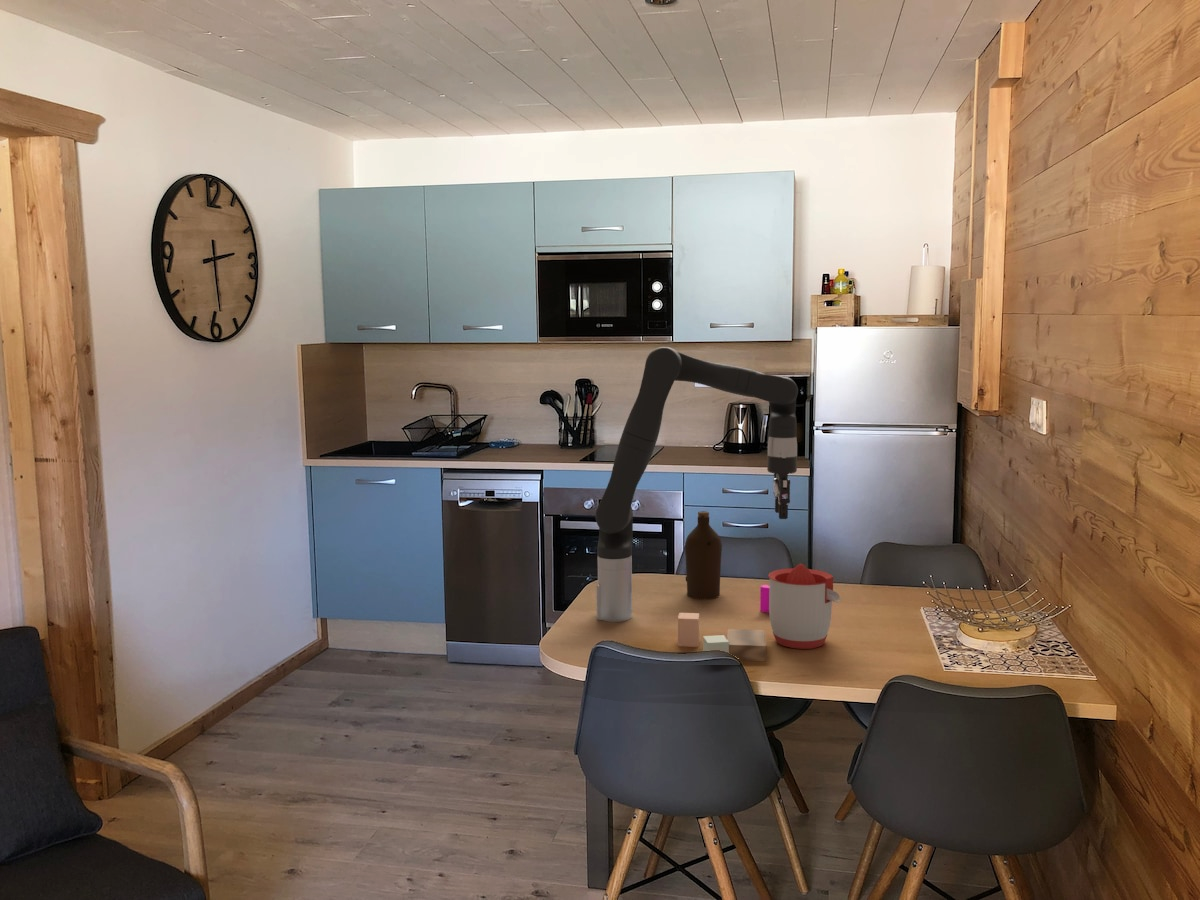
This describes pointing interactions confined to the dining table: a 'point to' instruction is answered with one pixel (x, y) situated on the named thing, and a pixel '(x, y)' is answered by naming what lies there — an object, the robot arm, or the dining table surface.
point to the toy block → (764, 598)
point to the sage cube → (715, 643)
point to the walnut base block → (747, 644)
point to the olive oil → (703, 560)
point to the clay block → (688, 629)
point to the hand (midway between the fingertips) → (781, 515)
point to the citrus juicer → (801, 606)
